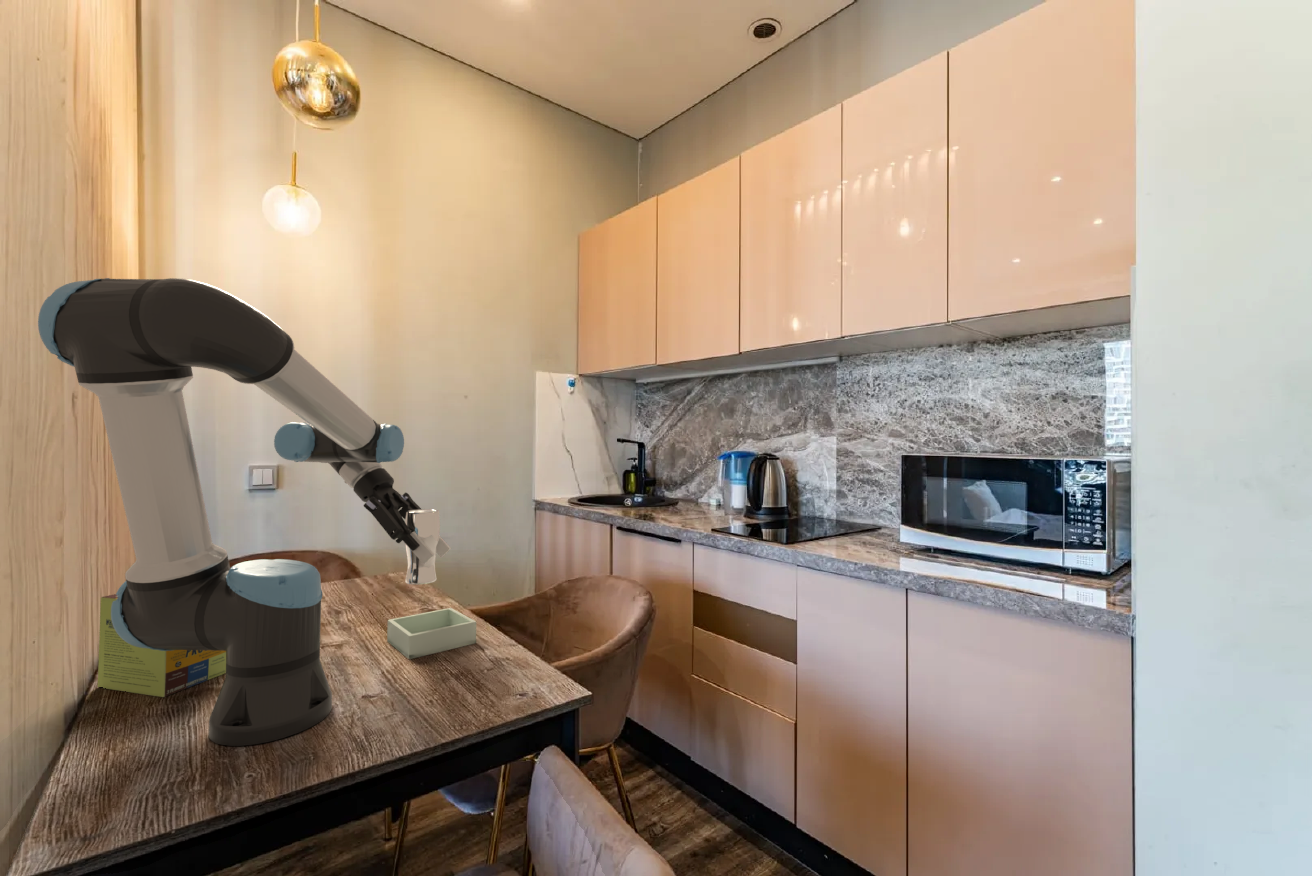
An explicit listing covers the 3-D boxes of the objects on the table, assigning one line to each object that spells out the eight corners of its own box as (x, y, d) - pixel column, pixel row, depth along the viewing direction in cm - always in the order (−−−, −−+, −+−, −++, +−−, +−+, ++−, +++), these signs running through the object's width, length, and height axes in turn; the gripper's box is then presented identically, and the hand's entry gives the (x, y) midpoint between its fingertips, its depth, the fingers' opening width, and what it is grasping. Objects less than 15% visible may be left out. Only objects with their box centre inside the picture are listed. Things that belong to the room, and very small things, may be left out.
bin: (476, 643, 115) (476, 621, 115) (408, 659, 106) (409, 636, 106) (450, 627, 125) (450, 607, 125) (387, 641, 116) (387, 620, 116)
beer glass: (439, 583, 115) (440, 512, 115) (402, 586, 112) (404, 513, 112) (437, 576, 121) (439, 508, 121) (403, 579, 118) (405, 509, 119)
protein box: (164, 698, 89) (167, 602, 90) (95, 688, 93) (98, 596, 93) (228, 673, 99) (230, 587, 100) (164, 665, 103) (166, 582, 103)
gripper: (382, 487, 128) (447, 559, 126) (324, 493, 109) (399, 578, 107) (404, 465, 128) (470, 537, 126) (350, 467, 108) (426, 552, 106)
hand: (437, 555), depth 116 cm, fingers closed on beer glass, 7 cm apart
